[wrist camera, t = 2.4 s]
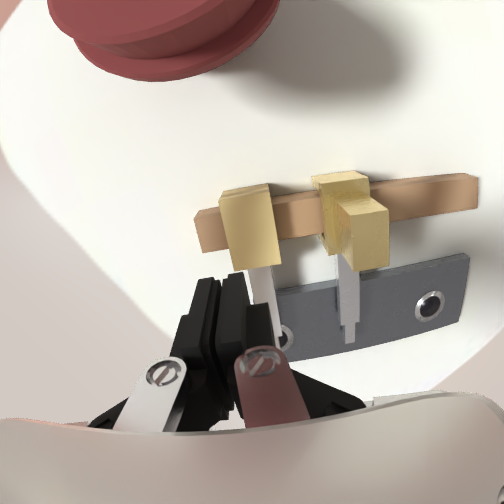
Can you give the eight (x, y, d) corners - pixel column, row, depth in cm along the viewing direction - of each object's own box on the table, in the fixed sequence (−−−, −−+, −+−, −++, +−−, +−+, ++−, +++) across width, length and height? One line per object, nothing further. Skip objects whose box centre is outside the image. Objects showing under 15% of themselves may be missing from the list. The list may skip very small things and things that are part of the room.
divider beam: (463, 159, 19) (487, 166, 16) (453, 298, 24) (470, 316, 21) (195, 195, 21) (185, 207, 18) (234, 342, 26) (232, 368, 23)
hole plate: (463, 252, 22) (470, 258, 21) (453, 316, 25) (458, 322, 24) (245, 294, 24) (245, 302, 23) (260, 358, 26) (260, 367, 25)
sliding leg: (353, 169, 19) (396, 192, 13) (360, 323, 25) (385, 381, 18) (311, 175, 20) (338, 200, 13) (326, 330, 25) (344, 391, 18)
